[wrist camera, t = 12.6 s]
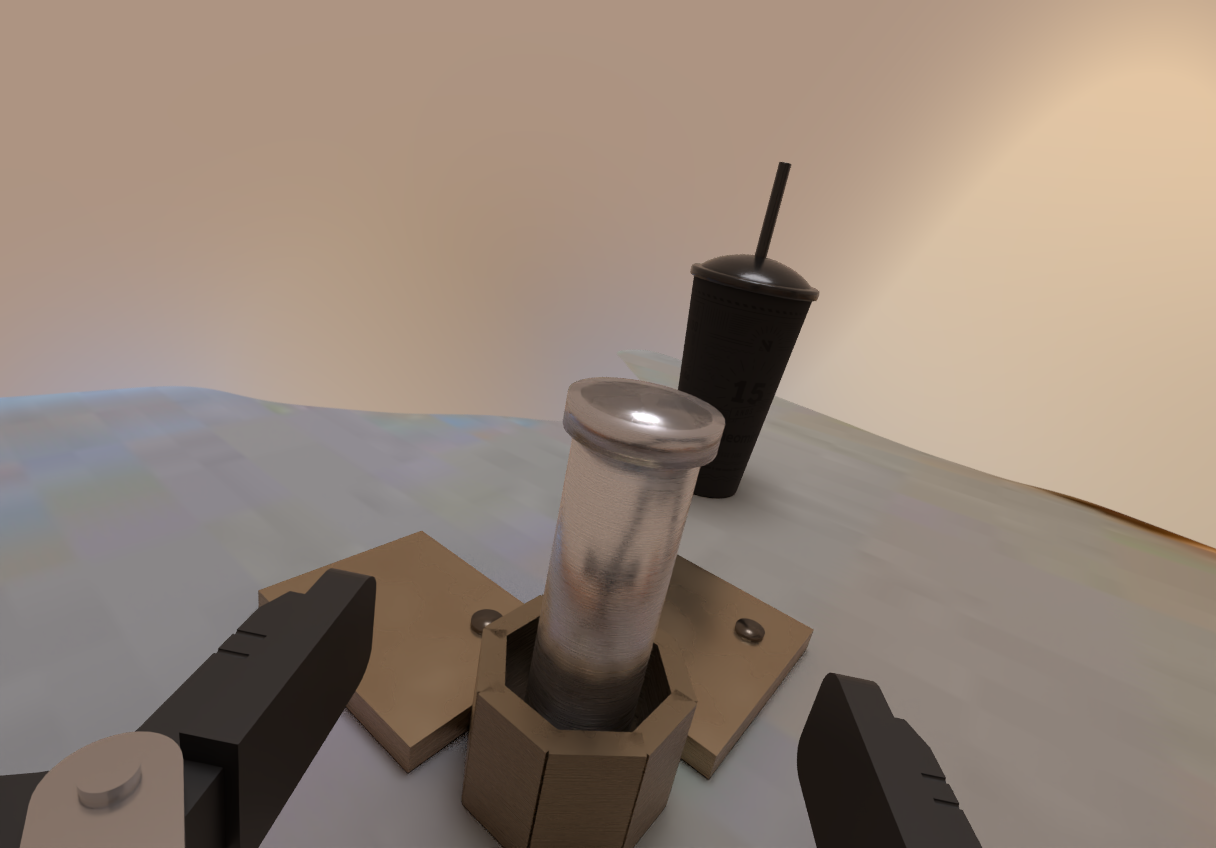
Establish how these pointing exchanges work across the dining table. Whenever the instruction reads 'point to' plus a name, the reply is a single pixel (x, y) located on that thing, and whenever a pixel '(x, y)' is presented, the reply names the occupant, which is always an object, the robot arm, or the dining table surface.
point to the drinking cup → (741, 344)
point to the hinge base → (520, 737)
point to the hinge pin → (615, 545)
